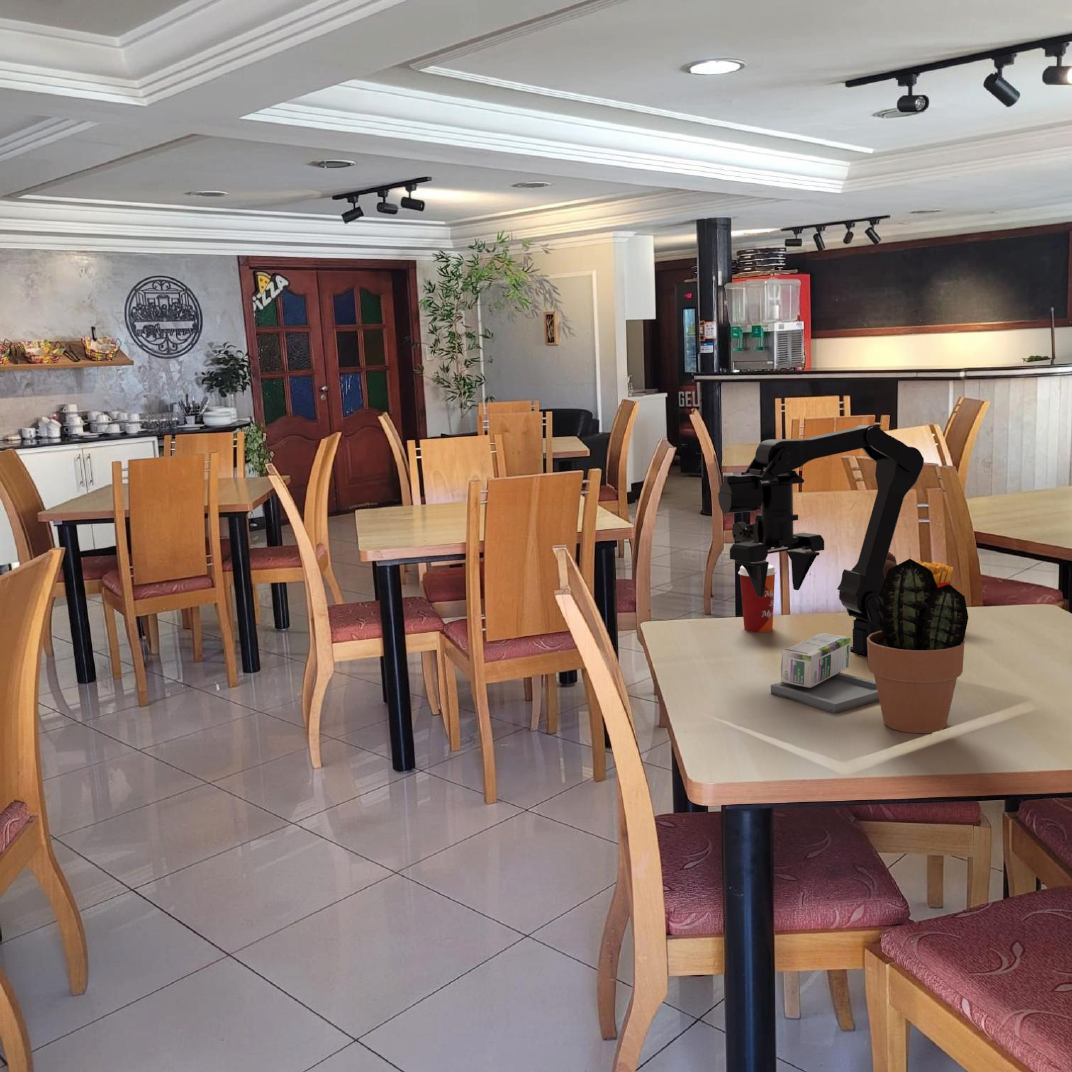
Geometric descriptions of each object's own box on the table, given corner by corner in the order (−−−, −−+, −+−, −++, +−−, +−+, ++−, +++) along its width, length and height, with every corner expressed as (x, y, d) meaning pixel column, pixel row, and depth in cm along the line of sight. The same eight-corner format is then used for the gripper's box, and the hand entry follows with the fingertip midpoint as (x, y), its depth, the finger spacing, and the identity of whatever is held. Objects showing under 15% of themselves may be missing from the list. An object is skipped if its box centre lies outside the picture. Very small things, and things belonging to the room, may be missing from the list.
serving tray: (829, 677, 184) (829, 669, 184) (894, 695, 173) (894, 686, 172) (770, 693, 177) (770, 684, 177) (835, 713, 165) (835, 704, 165)
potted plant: (880, 740, 152) (880, 570, 149) (857, 711, 166) (856, 554, 162) (977, 737, 152) (979, 566, 148) (945, 708, 165) (946, 550, 162)
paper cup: (777, 637, 214) (776, 569, 212) (739, 637, 216) (737, 570, 214) (777, 628, 222) (776, 562, 220) (739, 628, 223) (738, 563, 221)
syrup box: (850, 668, 185) (811, 689, 174) (819, 662, 189) (779, 682, 178) (851, 636, 184) (812, 655, 173) (819, 631, 188) (780, 649, 177)
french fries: (899, 622, 219) (904, 561, 216) (905, 618, 222) (910, 557, 220) (945, 630, 214) (951, 567, 211) (950, 625, 217) (956, 563, 215)
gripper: (781, 501, 203) (783, 580, 206) (708, 511, 194) (710, 594, 196) (825, 505, 194) (826, 588, 196) (750, 516, 184) (752, 603, 187)
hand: (778, 593), depth 194 cm, fingers open, 9 cm apart
